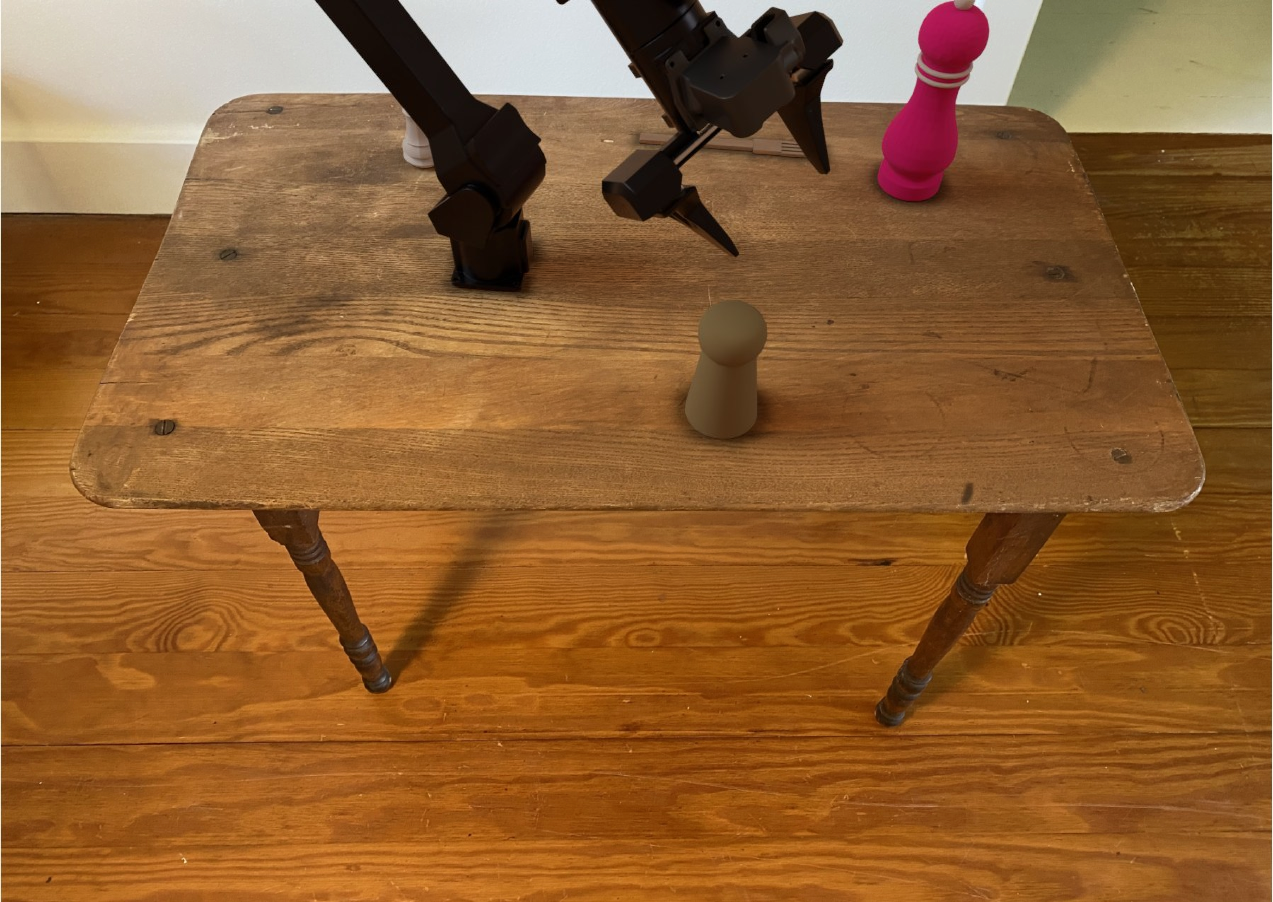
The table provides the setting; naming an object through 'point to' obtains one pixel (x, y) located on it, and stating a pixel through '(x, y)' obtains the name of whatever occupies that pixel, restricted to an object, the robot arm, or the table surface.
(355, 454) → the table surface
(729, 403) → the tan cone-shaped piece
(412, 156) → the rook chess piece
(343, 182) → the table surface
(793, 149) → the fork
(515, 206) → the robot arm
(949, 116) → the pepper mill
